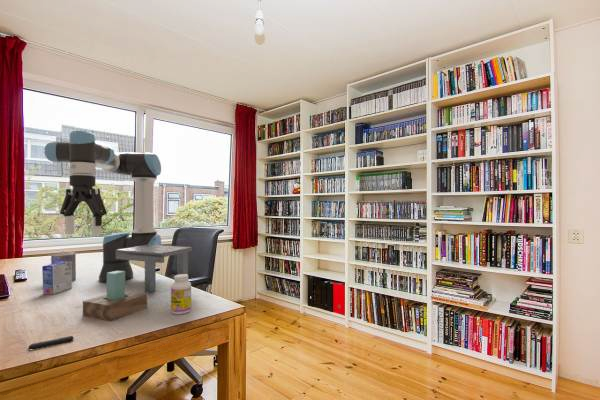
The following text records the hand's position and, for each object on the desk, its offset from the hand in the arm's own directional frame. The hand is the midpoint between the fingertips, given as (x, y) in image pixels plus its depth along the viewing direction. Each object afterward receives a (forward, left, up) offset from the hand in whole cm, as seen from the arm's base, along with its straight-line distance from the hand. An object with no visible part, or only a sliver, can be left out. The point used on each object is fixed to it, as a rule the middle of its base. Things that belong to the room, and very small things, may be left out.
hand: (83, 234), depth 109 cm
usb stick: (+18, -20, -28) cm, 39 cm away
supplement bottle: (+33, +12, -28) cm, 45 cm away
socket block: (+11, +4, -27) cm, 30 cm away
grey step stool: (+11, +21, -27) cm, 36 cm away
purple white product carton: (-53, +25, -28) cm, 65 cm away
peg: (+11, +4, -27) cm, 30 cm away
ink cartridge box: (-37, +13, -28) cm, 48 cm away
